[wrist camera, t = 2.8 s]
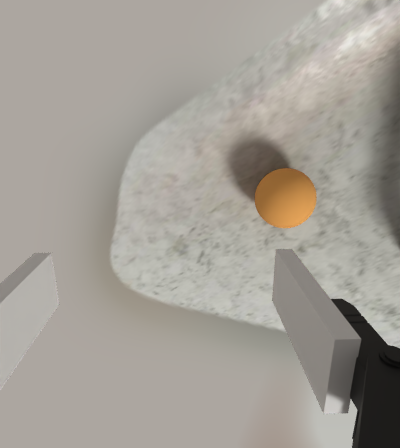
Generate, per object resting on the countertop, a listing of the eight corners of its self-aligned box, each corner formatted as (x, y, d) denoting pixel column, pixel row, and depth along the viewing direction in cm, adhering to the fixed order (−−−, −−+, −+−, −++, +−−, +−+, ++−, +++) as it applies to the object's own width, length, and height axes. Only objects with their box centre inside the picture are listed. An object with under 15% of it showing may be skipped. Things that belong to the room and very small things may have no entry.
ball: (251, 164, 32) (263, 173, 27) (307, 163, 32) (330, 173, 27) (248, 218, 34) (259, 237, 28) (301, 217, 34) (322, 236, 29)
